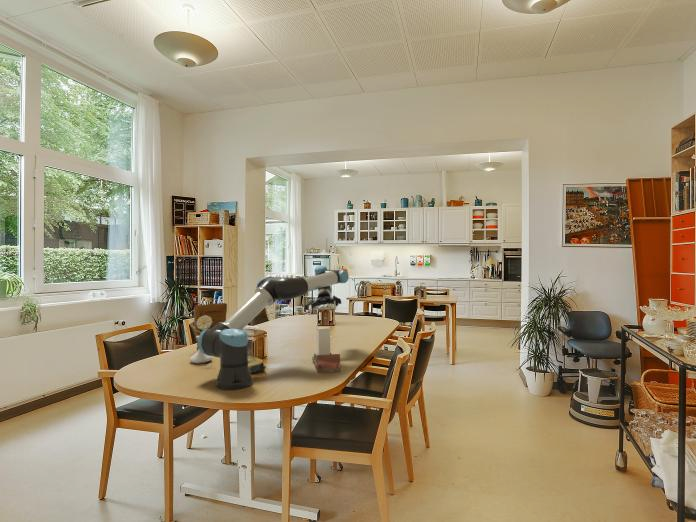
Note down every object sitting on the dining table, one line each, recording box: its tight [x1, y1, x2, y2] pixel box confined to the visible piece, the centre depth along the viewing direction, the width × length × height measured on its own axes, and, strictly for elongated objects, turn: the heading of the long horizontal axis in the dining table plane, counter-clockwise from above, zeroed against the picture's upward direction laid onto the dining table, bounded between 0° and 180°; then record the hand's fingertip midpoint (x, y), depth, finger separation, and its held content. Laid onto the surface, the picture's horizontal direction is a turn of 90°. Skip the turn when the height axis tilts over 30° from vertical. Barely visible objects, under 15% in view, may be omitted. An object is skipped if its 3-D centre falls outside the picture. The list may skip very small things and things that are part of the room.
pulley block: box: [248, 355, 266, 373], centre depth 205 cm, size 14×6×30 cm
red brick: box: [311, 352, 341, 373], centre depth 207 cm, size 24×11×8 cm, turn 11°
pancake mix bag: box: [193, 302, 228, 352], centre depth 245 cm, size 7×19×28 cm, turn 111°
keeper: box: [316, 326, 331, 355], centre depth 213 cm, size 6×6×16 cm
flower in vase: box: [189, 315, 213, 364], centre depth 216 cm, size 13×11×25 cm
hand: (322, 309), depth 218 cm, fingers open, 13 cm apart
